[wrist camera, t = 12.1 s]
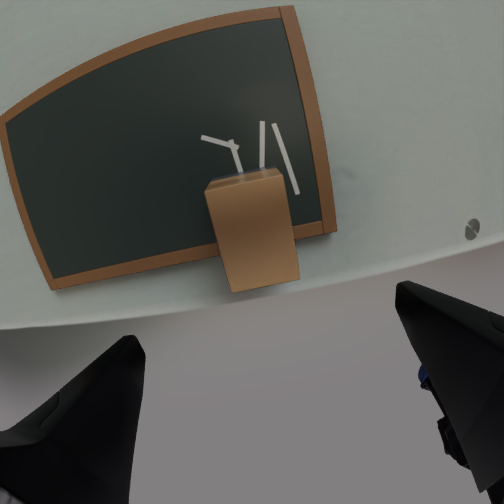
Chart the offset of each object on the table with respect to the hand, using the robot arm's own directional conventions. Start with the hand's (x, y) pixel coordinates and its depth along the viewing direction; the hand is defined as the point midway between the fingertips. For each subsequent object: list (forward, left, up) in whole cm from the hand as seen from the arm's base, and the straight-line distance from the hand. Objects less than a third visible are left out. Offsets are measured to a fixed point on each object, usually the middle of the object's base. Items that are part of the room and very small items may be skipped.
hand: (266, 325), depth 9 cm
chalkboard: (+2, +9, -12) cm, 15 cm away
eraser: (0, 0, -11) cm, 11 cm away
